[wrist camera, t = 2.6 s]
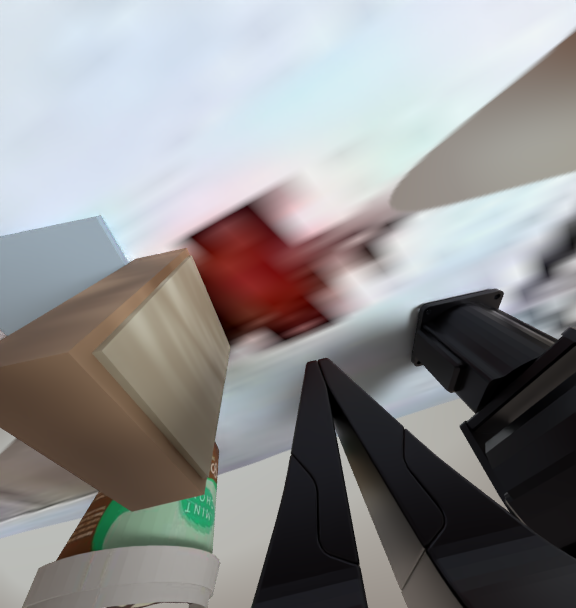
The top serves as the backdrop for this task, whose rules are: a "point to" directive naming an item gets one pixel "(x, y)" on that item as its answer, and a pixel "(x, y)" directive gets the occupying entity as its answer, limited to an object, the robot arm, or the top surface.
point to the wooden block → (123, 382)
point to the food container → (135, 556)
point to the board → (52, 267)
